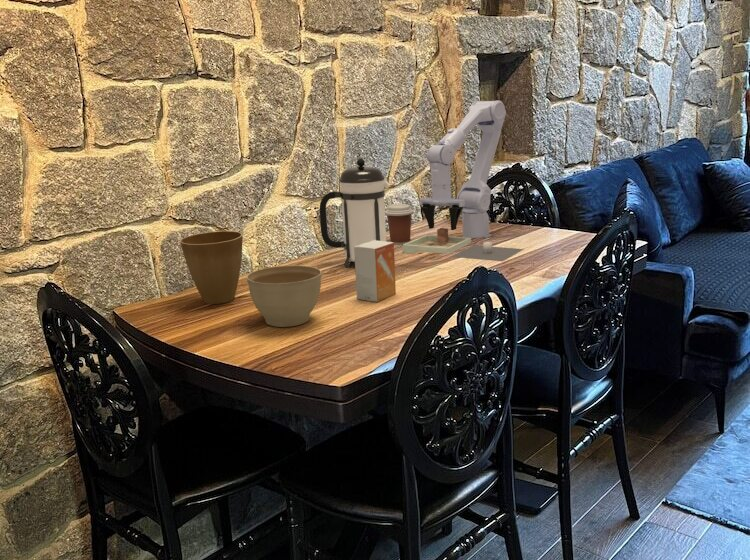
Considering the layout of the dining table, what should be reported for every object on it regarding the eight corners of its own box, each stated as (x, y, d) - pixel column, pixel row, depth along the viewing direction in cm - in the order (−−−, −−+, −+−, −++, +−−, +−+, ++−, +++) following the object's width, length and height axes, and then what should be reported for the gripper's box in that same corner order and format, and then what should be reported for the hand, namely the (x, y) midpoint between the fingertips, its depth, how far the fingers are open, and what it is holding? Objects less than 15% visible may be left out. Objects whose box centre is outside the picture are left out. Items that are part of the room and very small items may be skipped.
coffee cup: (380, 243, 232) (378, 207, 229) (398, 238, 239) (396, 202, 236) (402, 246, 227) (401, 209, 223) (420, 241, 233) (418, 204, 230)
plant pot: (214, 289, 187) (207, 229, 183) (260, 294, 180) (254, 232, 176) (174, 305, 175) (166, 241, 171) (222, 311, 168) (215, 244, 164)
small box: (377, 302, 169) (374, 248, 165) (356, 299, 172) (353, 246, 169) (396, 294, 175) (394, 241, 172) (375, 290, 179) (373, 239, 175)
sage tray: (426, 242, 231) (426, 234, 230) (471, 246, 222) (471, 238, 222) (402, 252, 218) (402, 244, 217) (448, 256, 210) (448, 248, 209)
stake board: (473, 248, 219) (473, 235, 218) (524, 252, 211) (524, 239, 210) (450, 259, 206) (450, 246, 205) (502, 264, 198) (502, 250, 197)
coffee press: (371, 254, 218) (366, 154, 210) (402, 263, 205) (397, 157, 197) (322, 264, 209) (314, 160, 201) (350, 274, 196) (343, 163, 188)
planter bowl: (314, 333, 149) (310, 283, 147) (240, 332, 152) (235, 283, 149) (332, 310, 165) (329, 264, 162) (265, 310, 168) (260, 264, 165)
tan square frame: (430, 242, 227) (430, 227, 226) (459, 245, 222) (459, 229, 220) (415, 249, 219) (414, 233, 218) (444, 252, 214) (444, 235, 212)
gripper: (413, 186, 219) (415, 229, 222) (457, 187, 211) (458, 232, 215) (424, 182, 225) (426, 225, 228) (467, 184, 217) (468, 228, 221)
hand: (442, 228), depth 222 cm, fingers open, 7 cm apart
